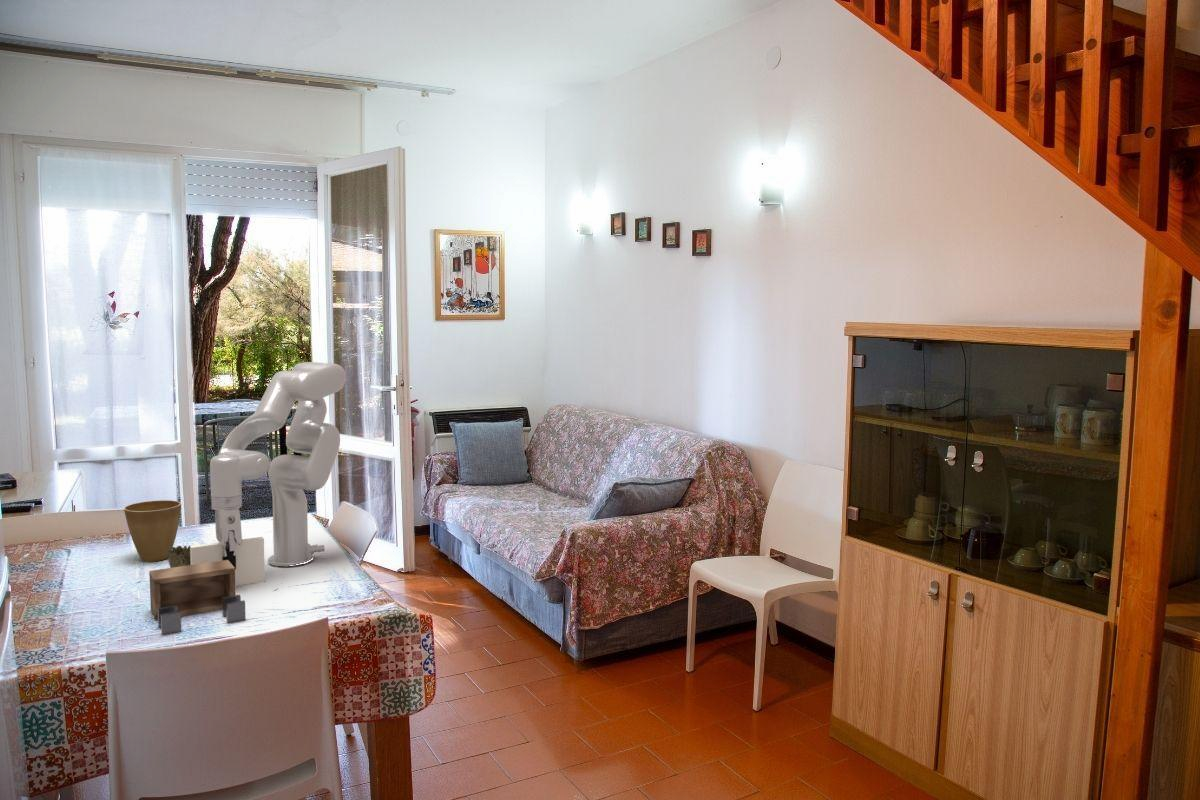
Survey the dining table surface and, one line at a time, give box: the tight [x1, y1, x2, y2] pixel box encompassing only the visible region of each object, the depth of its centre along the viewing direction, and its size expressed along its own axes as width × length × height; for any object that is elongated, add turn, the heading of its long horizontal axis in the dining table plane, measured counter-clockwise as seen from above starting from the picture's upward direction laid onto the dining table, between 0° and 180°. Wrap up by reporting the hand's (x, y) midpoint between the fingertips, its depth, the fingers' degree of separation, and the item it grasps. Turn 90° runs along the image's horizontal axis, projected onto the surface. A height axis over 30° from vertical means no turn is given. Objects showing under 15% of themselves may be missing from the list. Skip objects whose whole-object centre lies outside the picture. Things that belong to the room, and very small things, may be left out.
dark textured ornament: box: [167, 545, 191, 568], centre depth 237 cm, size 8×7×8 cm
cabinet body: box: [148, 560, 237, 621], centre depth 212 cm, size 18×8×10 cm, turn 125°
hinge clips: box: [157, 594, 247, 636], centre depth 203 cm, size 18×6×4 cm, turn 125°
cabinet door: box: [189, 536, 266, 587], centre depth 230 cm, size 18×3×12 cm, turn 124°
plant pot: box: [123, 499, 182, 563], centre depth 253 cm, size 15×15×16 cm
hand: (228, 568), depth 230 cm, fingers closed on cabinet door, 2 cm apart
